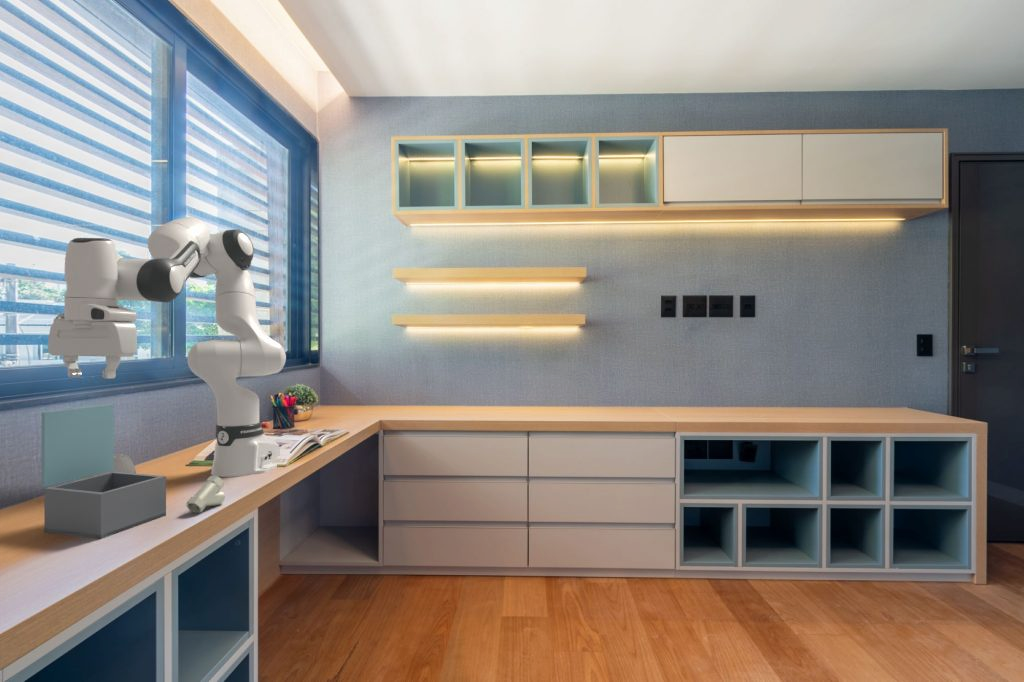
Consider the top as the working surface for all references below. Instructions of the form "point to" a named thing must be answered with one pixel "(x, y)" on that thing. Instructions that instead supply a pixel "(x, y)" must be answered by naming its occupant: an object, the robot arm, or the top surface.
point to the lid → (77, 443)
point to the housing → (104, 504)
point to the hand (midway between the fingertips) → (91, 377)
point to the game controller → (120, 465)
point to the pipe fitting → (207, 495)
